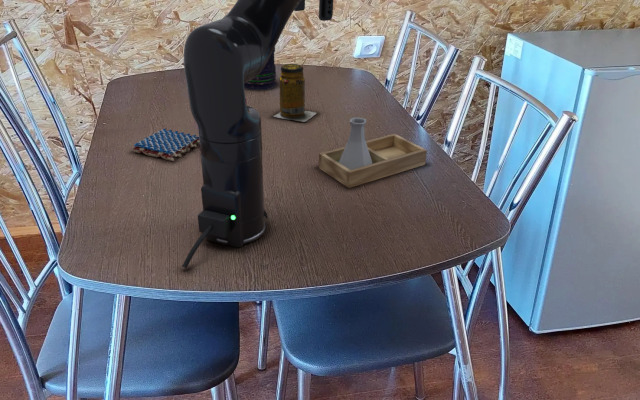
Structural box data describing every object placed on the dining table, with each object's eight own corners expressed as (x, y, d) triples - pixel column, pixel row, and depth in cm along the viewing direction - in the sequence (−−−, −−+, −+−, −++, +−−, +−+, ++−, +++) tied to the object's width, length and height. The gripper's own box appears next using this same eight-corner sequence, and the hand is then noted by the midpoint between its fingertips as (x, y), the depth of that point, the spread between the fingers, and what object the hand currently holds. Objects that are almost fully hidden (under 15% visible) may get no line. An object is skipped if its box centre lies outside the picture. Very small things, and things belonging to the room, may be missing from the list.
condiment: (286, 108, 143) (285, 61, 137) (317, 113, 140) (317, 65, 134) (273, 117, 137) (271, 68, 131) (304, 123, 134) (304, 73, 128)
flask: (368, 179, 107) (371, 129, 102) (332, 172, 109) (333, 124, 104) (377, 163, 113) (381, 116, 108) (343, 158, 115) (345, 111, 110)
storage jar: (263, 77, 165) (261, 25, 158) (283, 85, 158) (282, 31, 151) (234, 83, 159) (231, 29, 152) (253, 92, 153) (251, 36, 146)
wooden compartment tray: (425, 164, 115) (427, 149, 114) (348, 188, 106) (349, 172, 104) (393, 147, 122) (394, 133, 121) (318, 168, 113) (319, 153, 111)
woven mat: (131, 153, 118) (129, 144, 117) (163, 135, 126) (162, 127, 125) (171, 162, 114) (170, 153, 113) (202, 144, 122) (201, 135, 121)
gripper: (360, -89, 85) (353, 21, 93) (310, -95, 95) (307, 5, 103) (319, -89, 81) (315, 26, 89) (271, -95, 91) (271, 9, 100)
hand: (311, 15), depth 96 cm, fingers open, 8 cm apart
